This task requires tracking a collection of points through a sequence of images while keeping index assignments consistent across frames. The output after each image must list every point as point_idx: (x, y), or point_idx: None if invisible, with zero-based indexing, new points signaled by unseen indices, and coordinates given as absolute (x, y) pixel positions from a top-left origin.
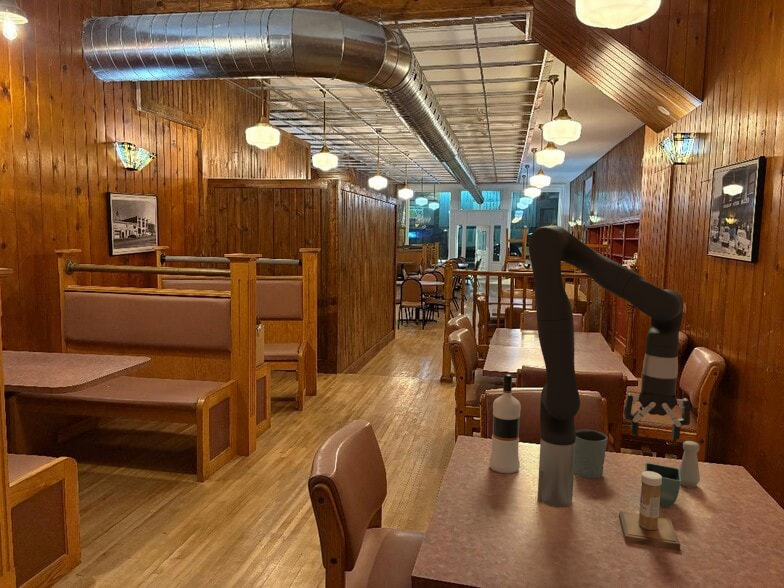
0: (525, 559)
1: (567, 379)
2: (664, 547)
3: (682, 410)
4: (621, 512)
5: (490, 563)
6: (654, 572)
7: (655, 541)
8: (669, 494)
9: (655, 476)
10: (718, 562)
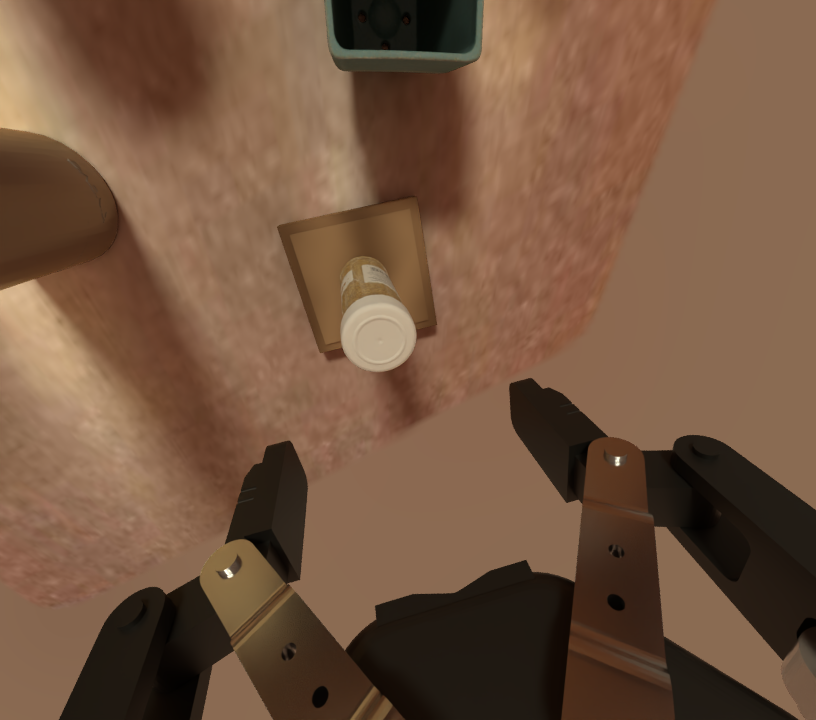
0: (166, 500)
1: None
2: None
3: (778, 568)
4: (284, 230)
5: (120, 538)
6: (387, 418)
7: None
8: (423, 71)
9: (394, 348)
10: (501, 325)
